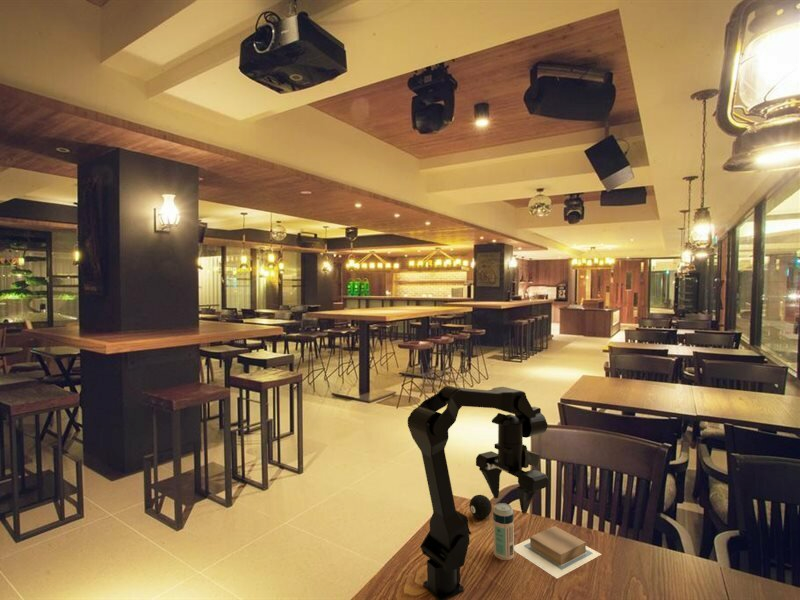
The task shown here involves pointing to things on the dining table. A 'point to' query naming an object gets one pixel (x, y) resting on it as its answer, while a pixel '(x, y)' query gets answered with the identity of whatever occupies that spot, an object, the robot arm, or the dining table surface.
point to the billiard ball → (480, 506)
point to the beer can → (503, 531)
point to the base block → (558, 545)
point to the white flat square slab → (549, 564)
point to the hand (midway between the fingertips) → (509, 505)
